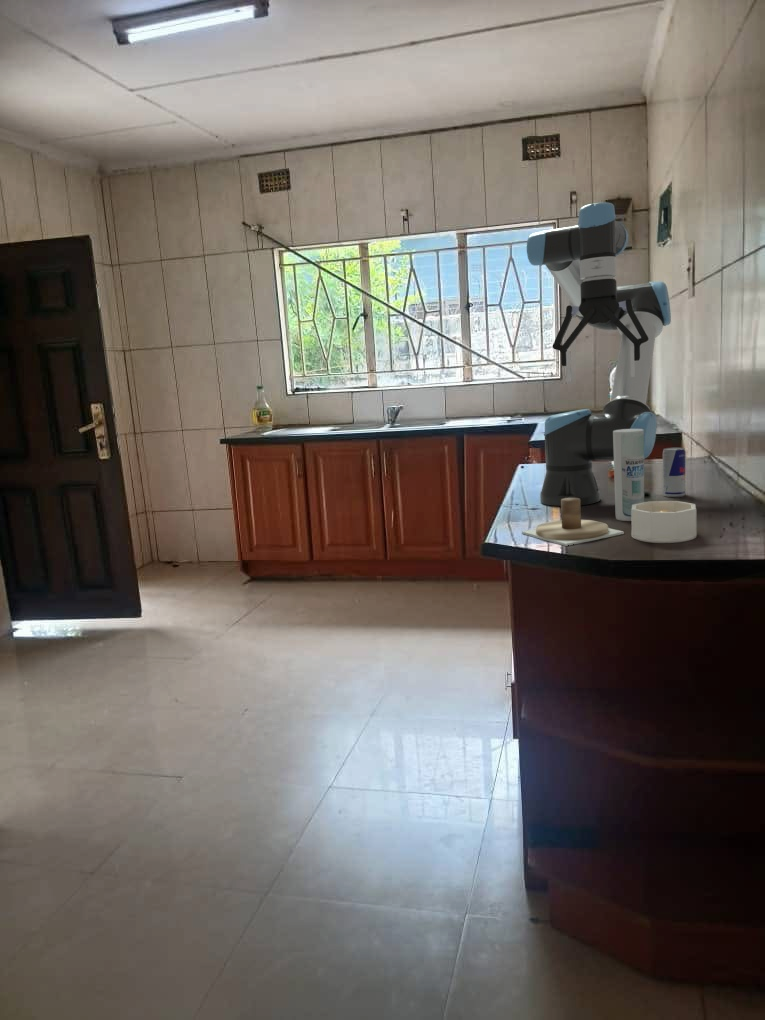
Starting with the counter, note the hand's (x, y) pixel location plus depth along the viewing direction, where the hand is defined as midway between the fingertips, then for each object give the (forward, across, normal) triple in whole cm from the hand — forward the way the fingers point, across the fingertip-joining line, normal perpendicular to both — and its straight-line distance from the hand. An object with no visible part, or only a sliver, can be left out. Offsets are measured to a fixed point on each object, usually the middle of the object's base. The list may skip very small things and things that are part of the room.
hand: (600, 378), depth 166 cm
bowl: (+32, +13, -17) cm, 38 cm away
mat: (+32, -6, -16) cm, 36 cm away
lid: (+31, -6, -16) cm, 35 cm away
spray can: (+32, +6, 0) cm, 32 cm away
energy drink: (+32, +16, +27) cm, 45 cm away
